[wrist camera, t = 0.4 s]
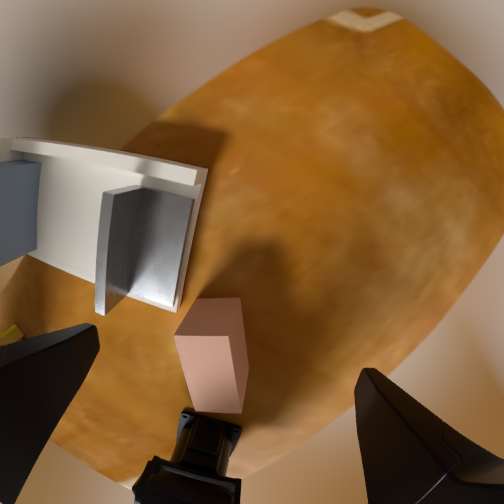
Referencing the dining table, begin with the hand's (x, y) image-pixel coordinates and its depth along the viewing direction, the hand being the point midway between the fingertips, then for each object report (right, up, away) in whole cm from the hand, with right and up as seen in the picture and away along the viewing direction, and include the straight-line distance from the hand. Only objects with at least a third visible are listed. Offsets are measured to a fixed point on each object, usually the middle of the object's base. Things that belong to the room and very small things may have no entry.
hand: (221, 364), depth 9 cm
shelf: (-13, +7, +13) cm, 19 cm away
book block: (-1, -3, +15) cm, 15 cm away
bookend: (-6, +4, +12) cm, 14 cm away
